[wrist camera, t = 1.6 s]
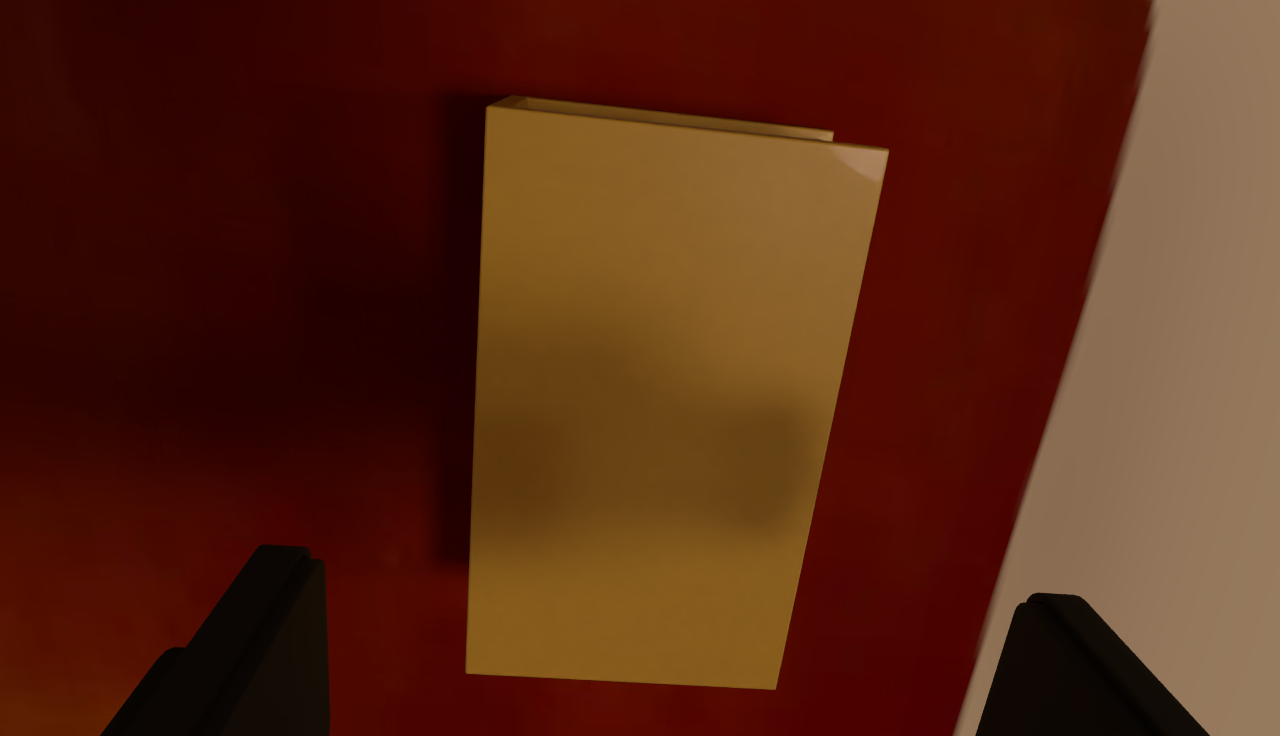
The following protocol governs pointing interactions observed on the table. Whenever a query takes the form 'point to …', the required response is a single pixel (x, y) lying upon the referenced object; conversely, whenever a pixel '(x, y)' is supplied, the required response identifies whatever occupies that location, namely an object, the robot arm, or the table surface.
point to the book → (654, 386)
